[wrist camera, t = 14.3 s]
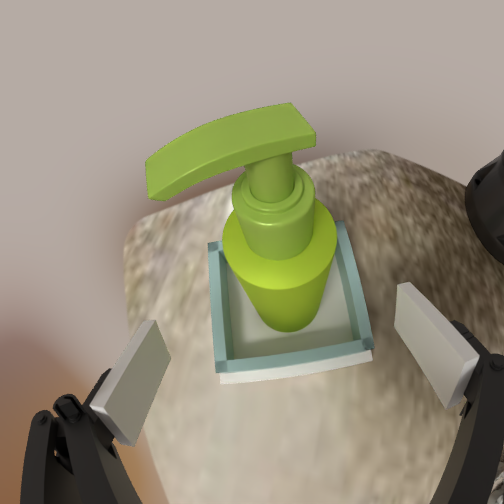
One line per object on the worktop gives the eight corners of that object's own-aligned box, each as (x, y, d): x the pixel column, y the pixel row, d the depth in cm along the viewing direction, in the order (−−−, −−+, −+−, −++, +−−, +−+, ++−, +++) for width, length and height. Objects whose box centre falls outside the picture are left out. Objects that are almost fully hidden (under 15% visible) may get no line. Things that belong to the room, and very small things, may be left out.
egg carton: (494, 453, 14) (513, 457, 10) (509, 478, 11) (526, 482, 7) (430, 519, 12) (443, 532, 9) (450, 539, 9) (463, 550, 5)
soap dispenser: (238, 288, 27) (138, 121, 9) (305, 264, 27) (305, 68, 9) (257, 345, 24) (146, 248, 6) (328, 318, 24) (398, 160, 6)
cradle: (340, 232, 29) (345, 210, 25) (369, 361, 23) (382, 358, 19) (214, 253, 30) (202, 234, 27) (224, 383, 24) (211, 384, 20)
